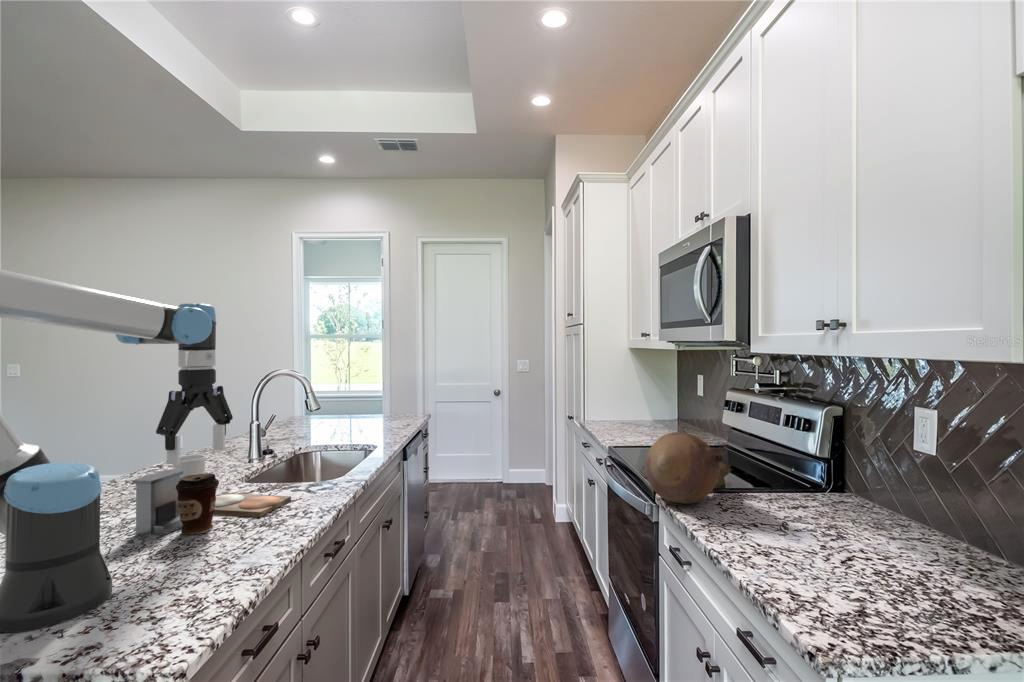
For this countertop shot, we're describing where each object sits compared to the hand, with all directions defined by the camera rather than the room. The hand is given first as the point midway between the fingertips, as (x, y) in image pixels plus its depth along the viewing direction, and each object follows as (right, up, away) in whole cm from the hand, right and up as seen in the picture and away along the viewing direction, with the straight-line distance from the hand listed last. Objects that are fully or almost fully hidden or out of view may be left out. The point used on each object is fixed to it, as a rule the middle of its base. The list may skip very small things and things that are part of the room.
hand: (197, 456), depth 115 cm
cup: (-17, -18, +23) cm, 34 cm away
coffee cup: (0, -18, 0) cm, 18 cm away
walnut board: (+1, -18, +17) cm, 24 cm away
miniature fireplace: (-9, -18, +1) cm, 20 cm away
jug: (+128, -18, +23) cm, 131 cm away
